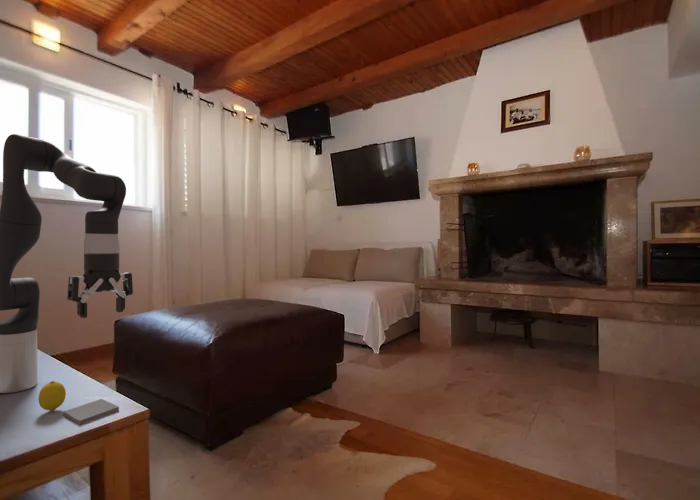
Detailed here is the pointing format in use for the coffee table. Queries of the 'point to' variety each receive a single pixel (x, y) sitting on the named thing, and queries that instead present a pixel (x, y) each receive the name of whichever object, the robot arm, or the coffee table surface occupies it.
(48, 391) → the lemon
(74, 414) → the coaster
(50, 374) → the coffee table surface
